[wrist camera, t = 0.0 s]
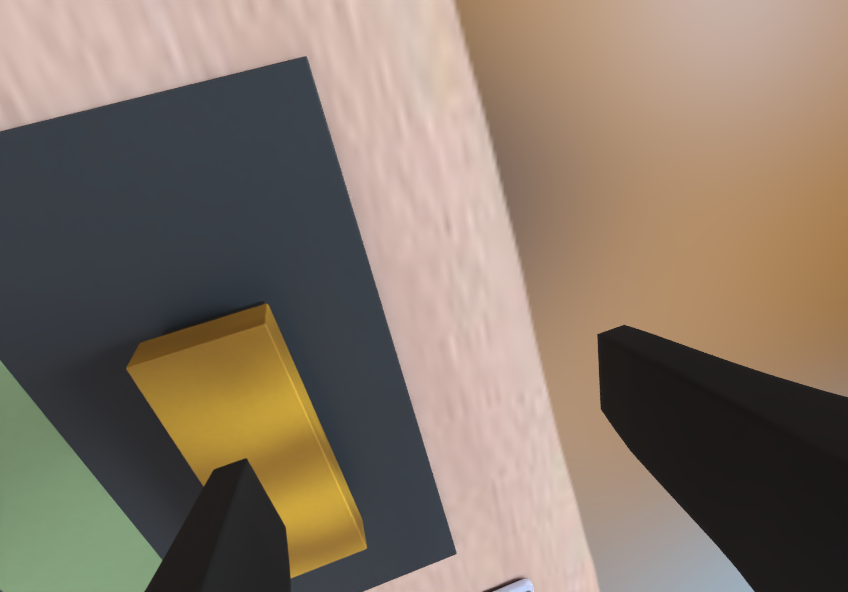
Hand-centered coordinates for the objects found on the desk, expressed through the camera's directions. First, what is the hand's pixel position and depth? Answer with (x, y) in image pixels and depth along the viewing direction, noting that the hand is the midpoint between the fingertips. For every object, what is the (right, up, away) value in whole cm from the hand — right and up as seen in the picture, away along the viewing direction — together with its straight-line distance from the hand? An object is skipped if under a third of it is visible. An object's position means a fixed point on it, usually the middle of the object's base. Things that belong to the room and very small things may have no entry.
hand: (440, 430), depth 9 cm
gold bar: (-7, -3, +11) cm, 13 cm away
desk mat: (-12, -4, +10) cm, 16 cm away
